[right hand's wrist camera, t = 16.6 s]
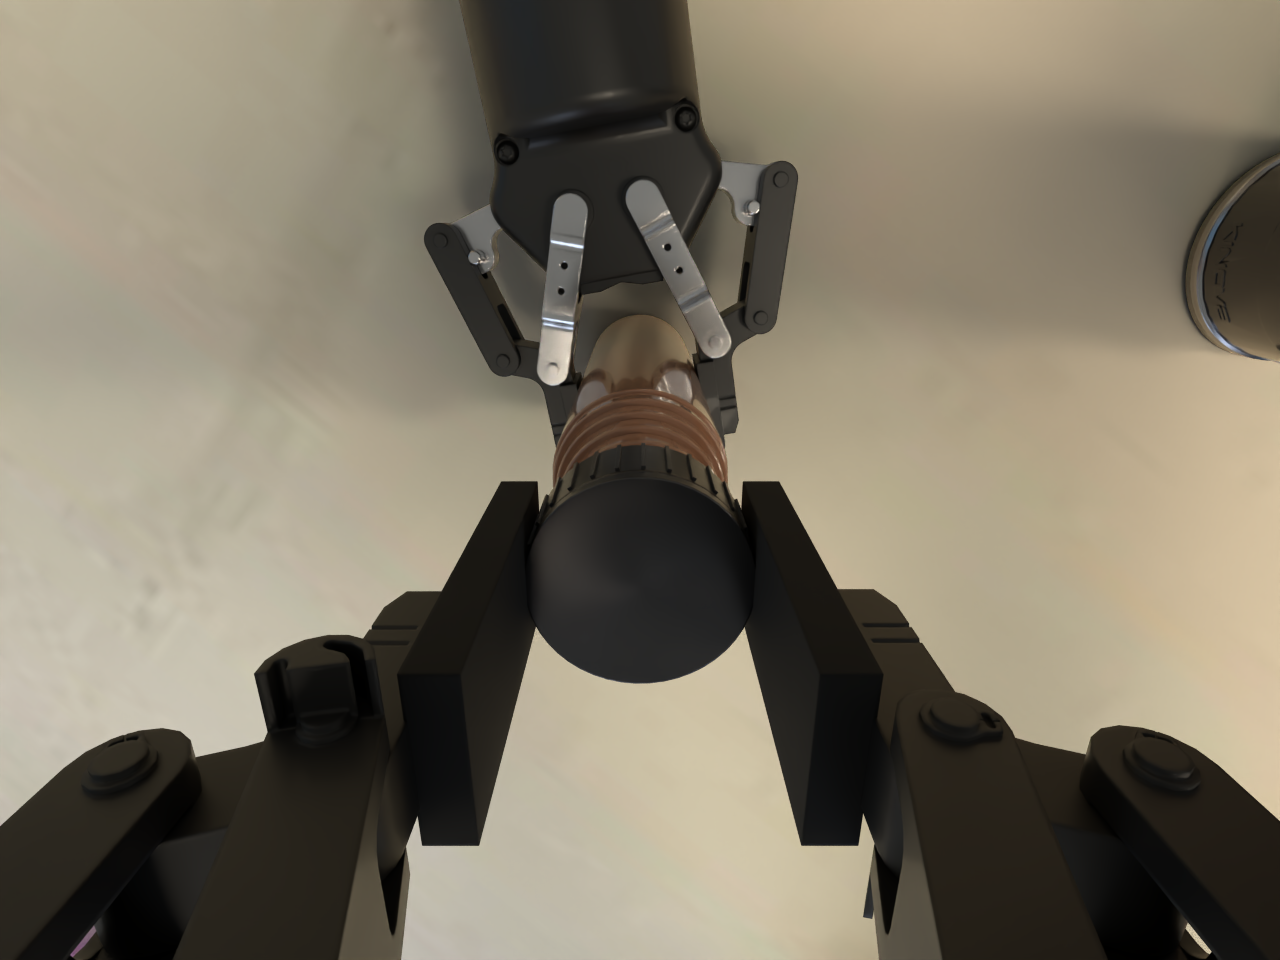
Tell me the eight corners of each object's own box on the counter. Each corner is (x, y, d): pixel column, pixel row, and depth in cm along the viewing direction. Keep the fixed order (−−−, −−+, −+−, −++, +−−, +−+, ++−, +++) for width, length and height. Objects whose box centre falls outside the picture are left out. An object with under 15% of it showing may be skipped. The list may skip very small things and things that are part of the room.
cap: (748, 624, 15) (763, 679, 13) (549, 638, 15) (537, 694, 14) (742, 432, 14) (758, 463, 12) (521, 450, 14) (503, 484, 12)
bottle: (609, 422, 34) (564, 700, 14) (578, 331, 33) (480, 498, 13) (699, 395, 34) (787, 643, 14) (673, 301, 32) (728, 426, 12)
